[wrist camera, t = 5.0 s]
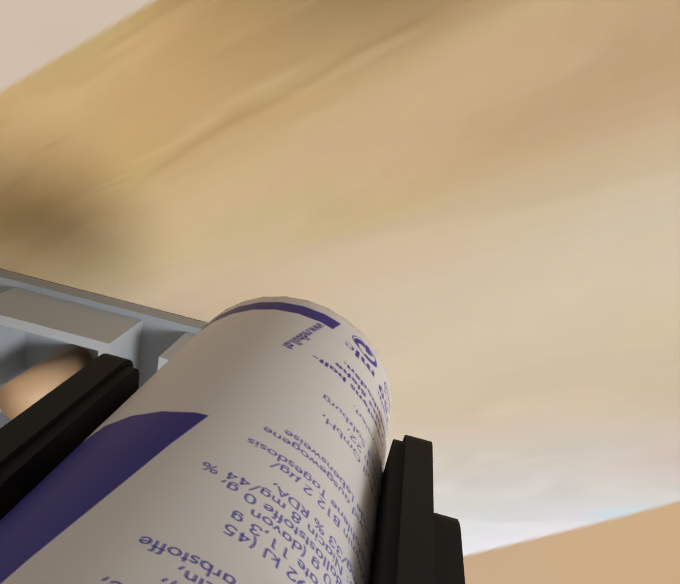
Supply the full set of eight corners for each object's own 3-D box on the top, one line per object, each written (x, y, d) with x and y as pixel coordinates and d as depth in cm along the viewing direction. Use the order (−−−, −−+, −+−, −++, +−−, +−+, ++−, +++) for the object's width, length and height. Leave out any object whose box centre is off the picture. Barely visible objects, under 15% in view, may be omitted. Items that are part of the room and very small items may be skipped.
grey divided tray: (-5, 389, 35) (-85, 440, 30) (-8, 267, 32) (-98, 297, 27) (333, 483, 33) (315, 556, 28) (363, 363, 30) (350, 417, 25)
